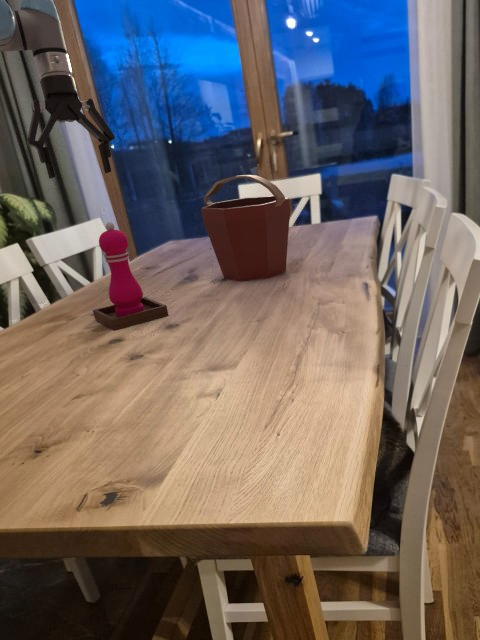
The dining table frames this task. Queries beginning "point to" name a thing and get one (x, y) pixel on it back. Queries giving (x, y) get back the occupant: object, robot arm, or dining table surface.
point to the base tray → (112, 321)
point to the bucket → (249, 232)
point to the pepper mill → (120, 273)
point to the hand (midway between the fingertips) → (81, 175)
